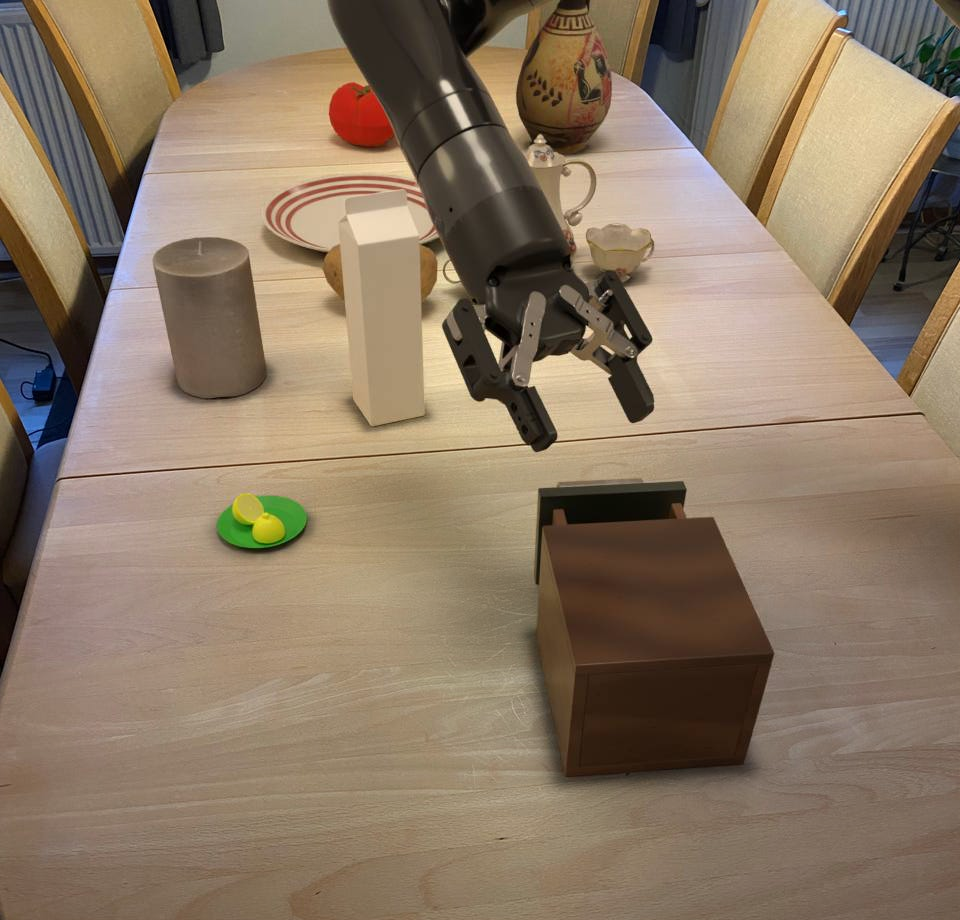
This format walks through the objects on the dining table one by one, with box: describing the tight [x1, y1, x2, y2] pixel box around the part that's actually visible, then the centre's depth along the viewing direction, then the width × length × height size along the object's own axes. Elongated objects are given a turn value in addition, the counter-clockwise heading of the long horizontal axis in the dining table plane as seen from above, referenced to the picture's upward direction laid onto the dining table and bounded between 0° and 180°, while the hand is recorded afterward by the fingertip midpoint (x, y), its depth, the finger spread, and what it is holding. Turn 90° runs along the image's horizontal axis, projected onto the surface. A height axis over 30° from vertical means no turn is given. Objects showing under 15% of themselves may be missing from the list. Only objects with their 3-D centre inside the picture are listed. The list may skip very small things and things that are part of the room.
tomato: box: [328, 81, 396, 148], centre depth 170 cm, size 14×13×9 cm
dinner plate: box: [260, 172, 440, 253], centre depth 143 cm, size 27×27×3 cm
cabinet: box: [535, 516, 775, 777], centre depth 74 cm, size 15×13×11 cm
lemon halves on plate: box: [216, 492, 308, 549], centre depth 92 cm, size 8×8×3 cm
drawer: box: [533, 477, 688, 586], centre depth 80 cm, size 18×12×9 cm, turn 6°
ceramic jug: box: [515, 0, 613, 155], centre depth 162 cm, size 17×15×30 cm
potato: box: [322, 244, 439, 304], centre depth 123 cm, size 10×14×8 cm
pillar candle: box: [152, 236, 268, 399], centre depth 108 cm, size 10×10×15 cm
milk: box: [338, 189, 426, 427], centre depth 101 cm, size 6×6×22 cm
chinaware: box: [442, 134, 655, 285], centre depth 128 cm, size 28×17×17 cm, turn 114°
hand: (597, 431), depth 68 cm, fingers open, 8 cm apart
